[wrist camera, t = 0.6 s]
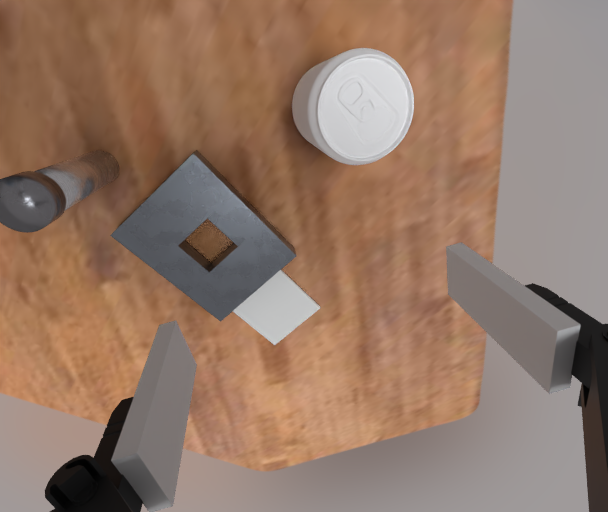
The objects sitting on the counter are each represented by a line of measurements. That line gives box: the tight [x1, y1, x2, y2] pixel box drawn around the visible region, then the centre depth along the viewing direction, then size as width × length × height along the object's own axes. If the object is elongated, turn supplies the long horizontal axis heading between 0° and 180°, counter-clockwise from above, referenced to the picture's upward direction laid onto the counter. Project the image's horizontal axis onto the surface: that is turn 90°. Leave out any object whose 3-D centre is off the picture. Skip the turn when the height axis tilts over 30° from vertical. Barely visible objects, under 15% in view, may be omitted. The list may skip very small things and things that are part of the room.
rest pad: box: [233, 270, 321, 345], centre depth 44 cm, size 8×8×1 cm
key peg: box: [0, 150, 119, 232], centre depth 29 cm, size 4×4×14 cm
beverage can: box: [292, 48, 414, 165], centre depth 31 cm, size 8×8×12 cm
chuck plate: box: [110, 150, 296, 321], centre depth 39 cm, size 15×12×2 cm
